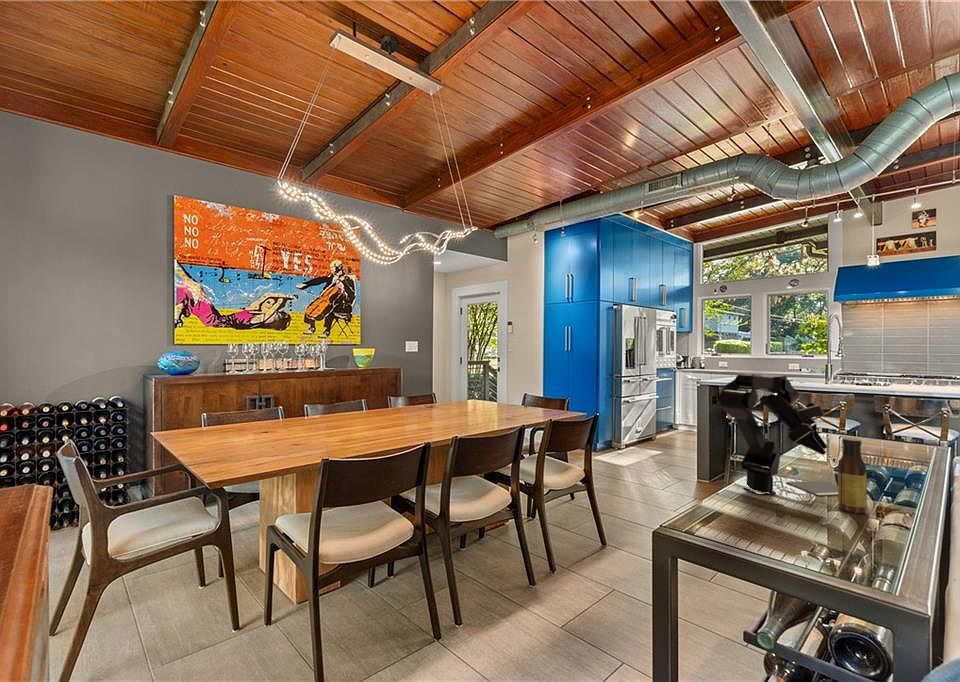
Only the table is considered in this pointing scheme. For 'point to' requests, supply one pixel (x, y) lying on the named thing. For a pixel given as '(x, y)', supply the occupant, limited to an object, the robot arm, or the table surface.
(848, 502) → the sauce bottle
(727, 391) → the robot arm
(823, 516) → the table surface
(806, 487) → the mat
